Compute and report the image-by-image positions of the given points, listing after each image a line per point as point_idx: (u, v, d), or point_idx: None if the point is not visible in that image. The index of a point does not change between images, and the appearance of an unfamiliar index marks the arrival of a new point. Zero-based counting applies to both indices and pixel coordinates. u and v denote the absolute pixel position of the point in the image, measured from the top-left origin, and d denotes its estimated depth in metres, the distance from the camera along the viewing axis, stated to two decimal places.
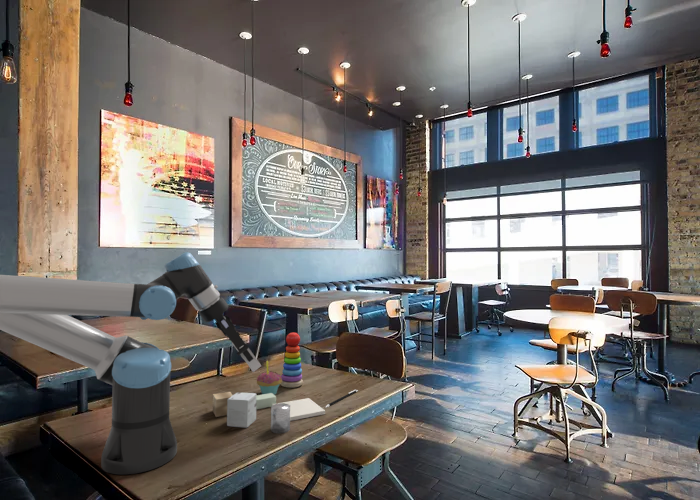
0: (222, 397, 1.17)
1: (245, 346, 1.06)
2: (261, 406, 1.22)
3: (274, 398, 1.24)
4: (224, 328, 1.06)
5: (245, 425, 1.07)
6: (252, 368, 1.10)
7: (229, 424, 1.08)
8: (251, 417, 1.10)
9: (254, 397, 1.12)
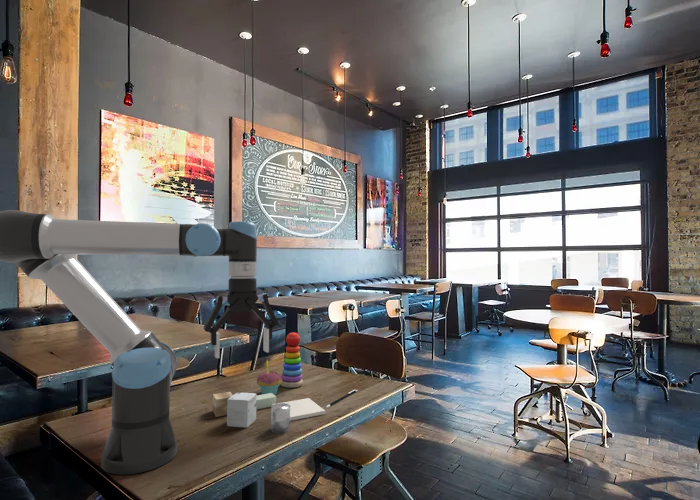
0: (222, 397, 1.17)
1: (205, 328, 1.06)
2: (261, 406, 1.22)
3: (274, 398, 1.24)
4: (216, 302, 1.09)
5: (245, 425, 1.07)
6: None
7: (229, 424, 1.08)
8: (251, 417, 1.10)
9: (254, 397, 1.12)
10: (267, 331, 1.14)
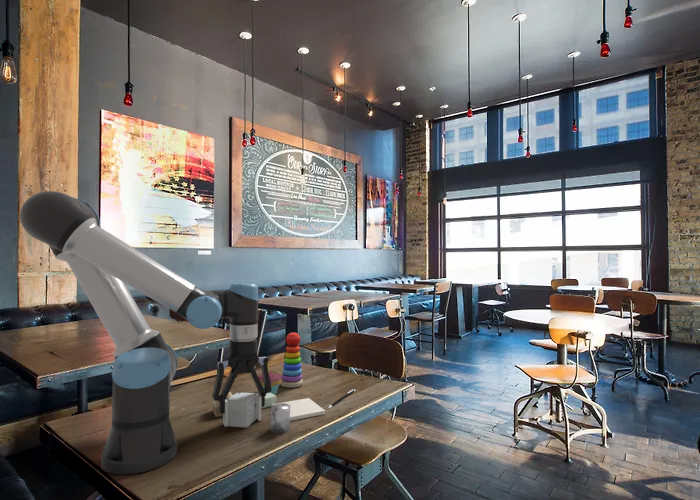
0: None
1: (213, 397, 1.07)
2: None
3: (274, 397, 1.24)
4: (218, 368, 1.09)
5: (245, 425, 1.07)
6: (223, 420, 1.09)
7: (229, 424, 1.08)
8: (251, 417, 1.10)
9: (254, 397, 1.12)
10: (259, 399, 1.12)
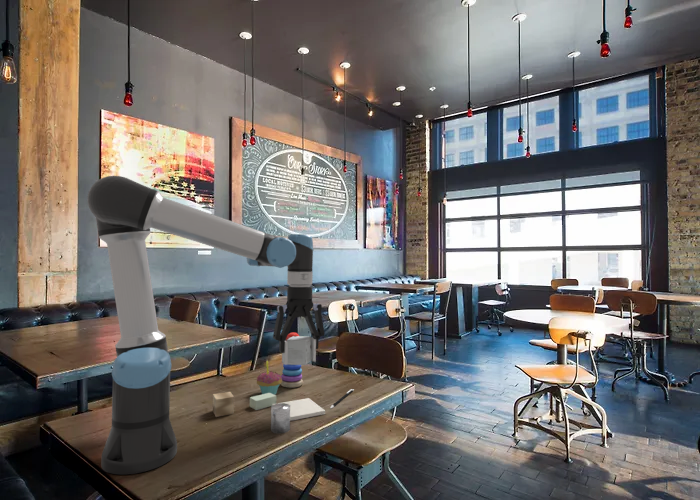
0: (222, 397, 1.17)
1: (275, 337, 1.16)
2: (263, 406, 1.22)
3: (274, 397, 1.24)
4: (277, 311, 1.18)
5: (304, 363, 1.17)
6: (282, 359, 1.19)
7: (289, 362, 1.18)
8: (308, 357, 1.20)
9: (310, 339, 1.21)
10: (314, 341, 1.21)
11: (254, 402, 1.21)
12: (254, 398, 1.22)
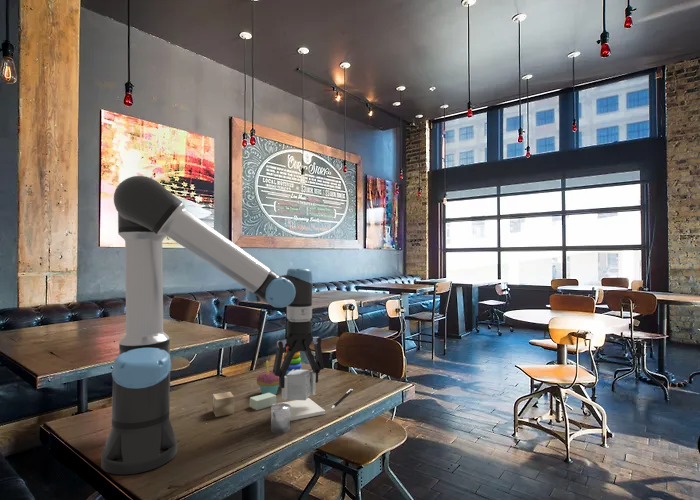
0: (222, 397, 1.17)
1: (274, 373, 1.16)
2: (263, 406, 1.22)
3: (274, 397, 1.25)
4: (277, 347, 1.18)
5: (303, 398, 1.17)
6: (282, 394, 1.19)
7: (288, 397, 1.17)
8: (308, 391, 1.20)
9: (309, 373, 1.21)
10: (314, 375, 1.21)
11: (254, 402, 1.21)
12: (254, 398, 1.22)
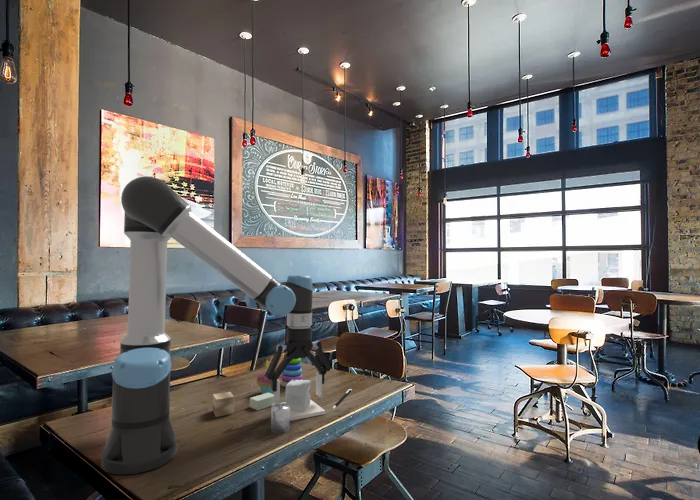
0: (222, 397, 1.17)
1: (267, 375, 1.15)
2: (263, 406, 1.22)
3: None
4: (276, 350, 1.18)
5: (303, 409, 1.17)
6: (274, 397, 1.17)
7: None
8: (307, 402, 1.19)
9: (309, 384, 1.21)
10: (320, 377, 1.22)
11: (255, 402, 1.21)
12: (254, 398, 1.22)
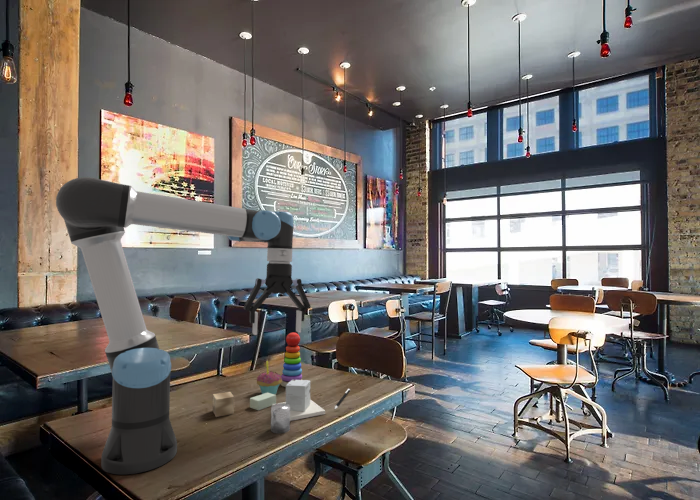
0: (222, 397, 1.17)
1: (245, 307, 1.17)
2: (264, 406, 1.22)
3: (274, 396, 1.25)
4: (255, 284, 1.20)
5: (303, 409, 1.17)
6: (252, 330, 1.19)
7: None
8: (307, 402, 1.19)
9: (309, 384, 1.21)
10: (300, 313, 1.24)
11: (255, 403, 1.21)
12: (255, 398, 1.22)
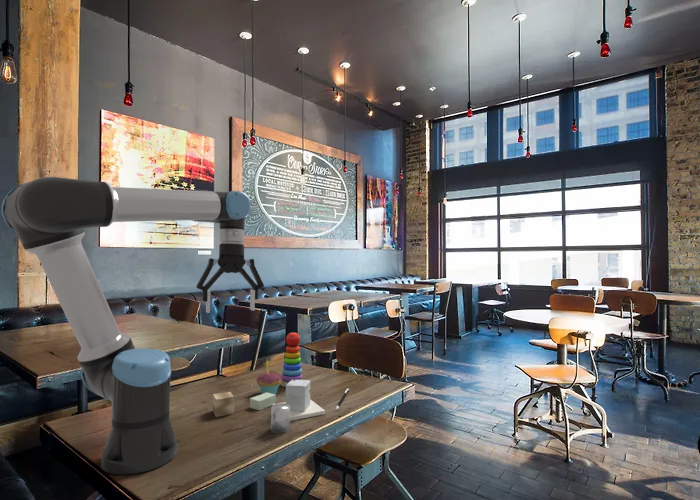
0: (222, 397, 1.17)
1: (197, 285, 1.20)
2: (265, 406, 1.22)
3: (274, 396, 1.25)
4: None
5: (303, 409, 1.17)
6: (206, 308, 1.23)
7: None
8: (307, 402, 1.19)
9: (309, 384, 1.21)
10: (253, 292, 1.28)
11: (256, 403, 1.21)
12: (255, 399, 1.22)
